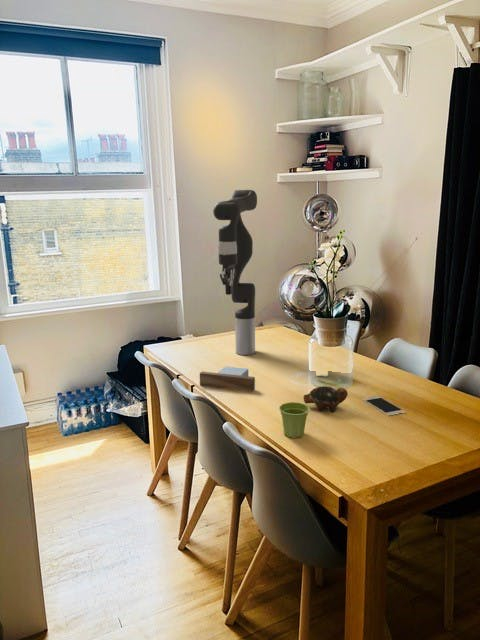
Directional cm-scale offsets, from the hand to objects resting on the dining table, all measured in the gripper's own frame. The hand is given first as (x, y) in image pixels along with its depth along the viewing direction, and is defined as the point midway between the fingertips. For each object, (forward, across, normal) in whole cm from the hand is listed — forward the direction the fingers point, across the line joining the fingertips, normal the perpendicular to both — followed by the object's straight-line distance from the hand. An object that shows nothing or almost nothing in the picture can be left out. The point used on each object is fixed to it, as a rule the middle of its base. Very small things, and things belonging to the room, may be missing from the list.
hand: (228, 294), depth 215 cm
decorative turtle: (+33, +29, +47) cm, 64 cm away
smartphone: (+33, +22, +66) cm, 77 cm away
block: (+33, +14, +6) cm, 36 cm away
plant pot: (+32, +52, +42) cm, 74 cm away
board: (+32, +21, +7) cm, 39 cm away
